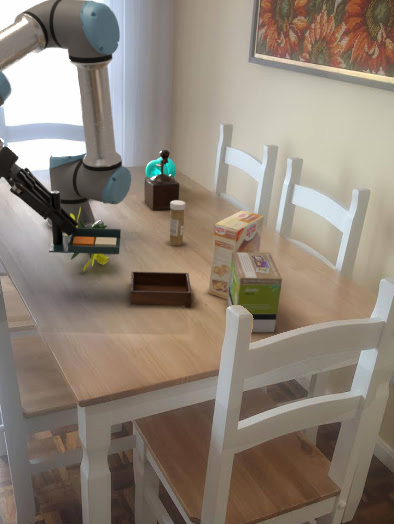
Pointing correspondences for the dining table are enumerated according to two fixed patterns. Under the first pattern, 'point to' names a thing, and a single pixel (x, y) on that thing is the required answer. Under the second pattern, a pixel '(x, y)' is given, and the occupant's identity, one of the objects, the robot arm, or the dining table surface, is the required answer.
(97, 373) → the dining table surface
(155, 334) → the dining table surface
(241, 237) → the coffeecake box
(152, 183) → the wooden coffee grinder
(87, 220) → the robot arm
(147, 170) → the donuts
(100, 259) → the daffodil flowers
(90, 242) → the sachet orange
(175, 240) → the spice jar
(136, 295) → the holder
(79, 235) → the green tray with post
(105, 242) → the block
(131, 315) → the dining table surface
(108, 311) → the dining table surface
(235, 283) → the tea box
